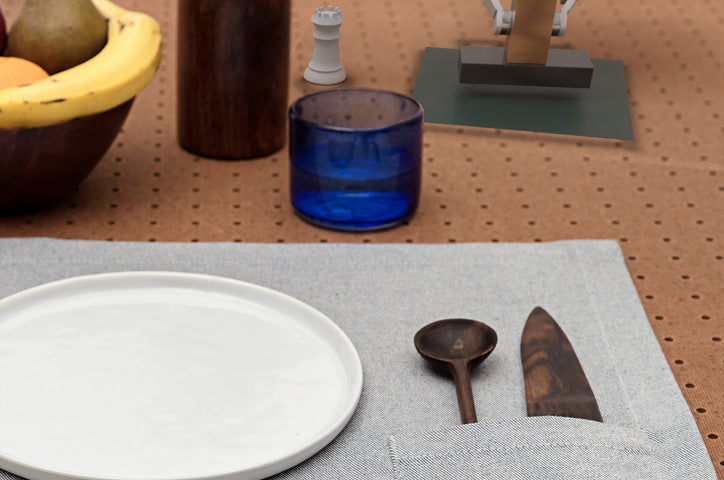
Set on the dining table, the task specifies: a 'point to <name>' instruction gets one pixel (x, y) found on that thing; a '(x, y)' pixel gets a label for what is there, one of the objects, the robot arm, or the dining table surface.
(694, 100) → the dining table surface
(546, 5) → the duster
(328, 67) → the rook chess piece
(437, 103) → the slate board
